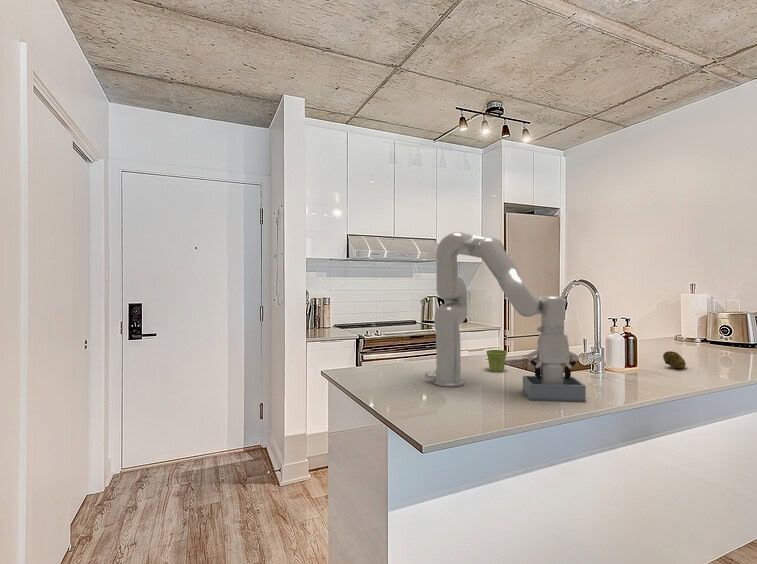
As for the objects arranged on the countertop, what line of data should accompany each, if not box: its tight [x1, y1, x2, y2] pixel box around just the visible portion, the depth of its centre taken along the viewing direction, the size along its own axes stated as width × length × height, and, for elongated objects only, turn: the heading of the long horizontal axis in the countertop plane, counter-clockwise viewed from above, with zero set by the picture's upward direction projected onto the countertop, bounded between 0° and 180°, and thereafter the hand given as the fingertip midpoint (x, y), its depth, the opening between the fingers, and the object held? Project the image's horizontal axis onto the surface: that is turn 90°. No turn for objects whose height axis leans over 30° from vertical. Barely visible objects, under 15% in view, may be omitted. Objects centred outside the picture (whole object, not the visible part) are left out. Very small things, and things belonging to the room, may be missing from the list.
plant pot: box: [485, 349, 508, 373], centre depth 187 cm, size 9×9×9 cm
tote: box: [522, 375, 587, 403], centre depth 148 cm, size 18×12×6 cm, turn 82°
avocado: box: [662, 350, 687, 370], centre depth 188 cm, size 8×13×8 cm, turn 108°
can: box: [540, 363, 565, 385], centre depth 148 cm, size 8×8×12 cm
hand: (552, 378), depth 148 cm, fingers open, 9 cm apart
